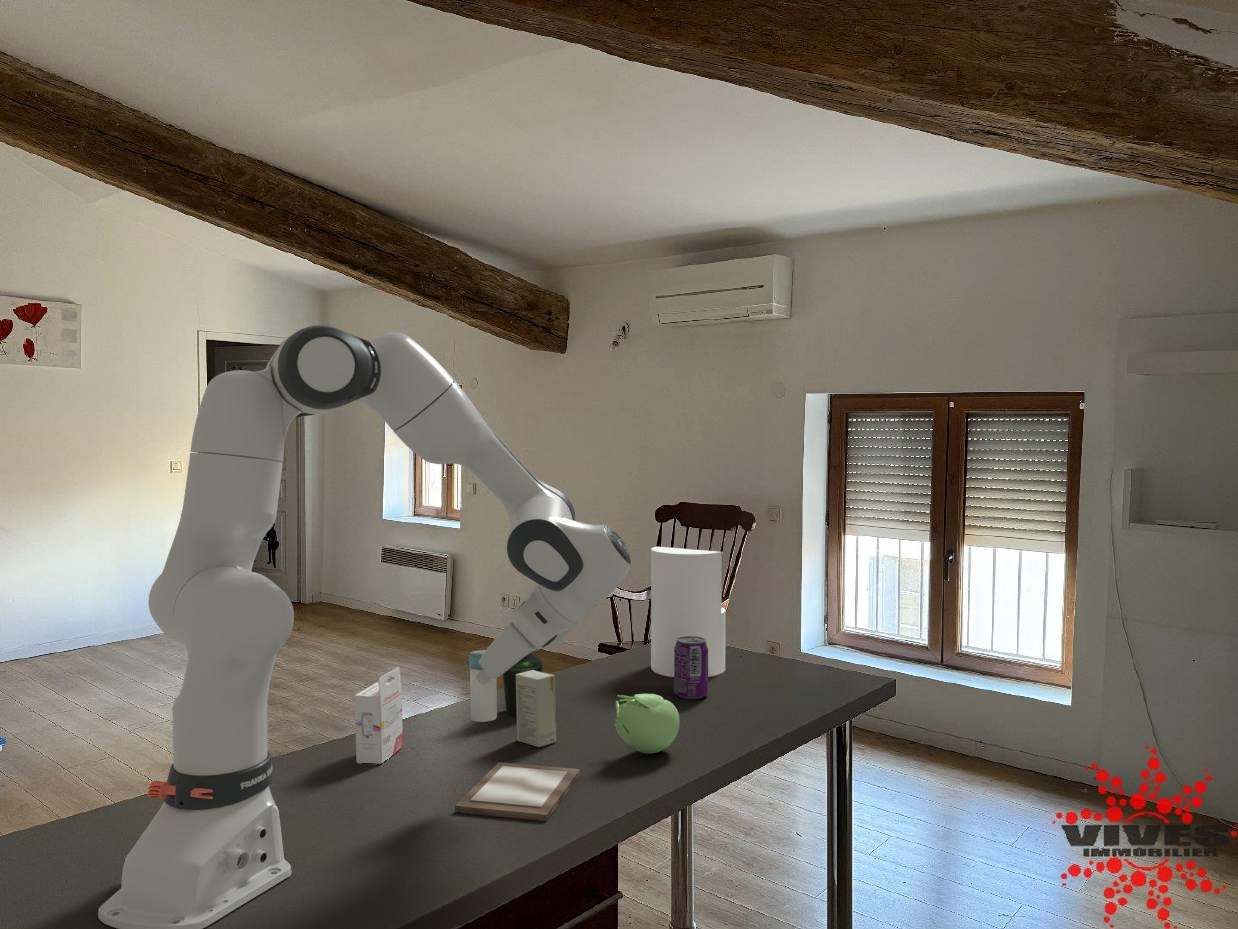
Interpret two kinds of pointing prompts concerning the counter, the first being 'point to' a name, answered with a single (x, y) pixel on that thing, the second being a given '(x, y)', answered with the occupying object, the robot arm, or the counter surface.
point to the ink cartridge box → (379, 719)
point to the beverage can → (691, 667)
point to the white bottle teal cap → (481, 692)
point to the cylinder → (686, 605)
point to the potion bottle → (509, 679)
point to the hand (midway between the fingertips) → (486, 675)
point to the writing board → (519, 791)
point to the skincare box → (536, 708)
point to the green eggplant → (647, 722)
